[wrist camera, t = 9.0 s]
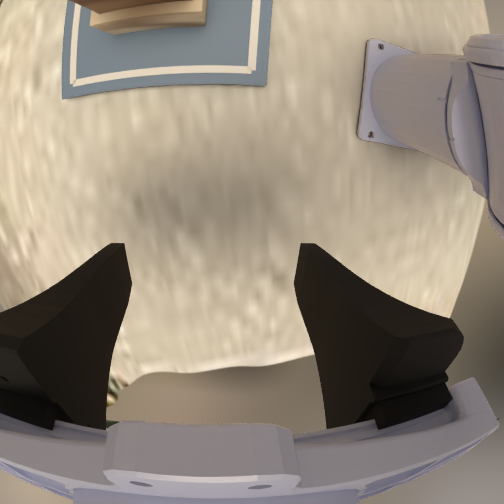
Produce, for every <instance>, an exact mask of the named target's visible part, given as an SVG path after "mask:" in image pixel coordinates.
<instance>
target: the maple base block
mask: <svg viewBox="0 0 504 504" xmlns="http://www.w3.org/2000/svg"><path fill="white" fill-rule="evenodd" d="M207 7H208V0H190V1H176V2H166V3H157V4H149V5H143V6H136V7H131V8H125V9H120V10H115V11H111V12H106V13H102V14H98V13H96V12H94V11H92V10H91V18H90V26H91V27H94V28H97V29H99V30H102V31H105V32H107V33H110V34H113V35H118V34H124V33H130V32H137V31H145V30H153V29H164V28H177V27H200V26H206V19H207Z"/></svg>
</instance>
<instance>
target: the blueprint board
mask: <svg viewBox="0 0 504 504" xmlns="http://www.w3.org/2000/svg"><path fill="white" fill-rule="evenodd" d="M272 1H273V0H208V7H207V19H206V26H200V27H177V28H164V29H153V30H145V31H137V32H130V33H124V34H118V35H113V34H110V33H107V32H105V31H102V30H99V29H97V28H94V27H91V26H90V18H91V10H90V9H88V8H85V7H83V6H81V5H79V4H76V3H74V2H72V1H69V0H68V2H67V9H66V17H65V26H64V37H63V53H62V99H68V98H73V97H78V96H83V95H88V94H94V93H100V92H107V91H114V90H121V89H130V88H139V87H150V86H163V85H183V84H237V85H257V86H266V84H267V70H268V56H269V43H270V29H271V15H272Z"/></svg>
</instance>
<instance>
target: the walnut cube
mask: <svg viewBox="0 0 504 504" xmlns="http://www.w3.org/2000/svg"><path fill="white" fill-rule="evenodd" d="M69 1H72V2H74V3H76V4H79V5H81V6H83V7H85V8H88V9H90V10H92V11H94V12H96V13H98V14H102V13H106V12H111V11H115V10H120V9H125V8H131V7H136V6H143V5H149V4H157V3H166V2H176V1H190V0H69Z"/></svg>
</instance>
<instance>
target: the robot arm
mask: <svg viewBox="0 0 504 504" xmlns="http://www.w3.org/2000/svg"><path fill="white" fill-rule="evenodd" d="M378 44H380V45H381V47H382V49H381V50H380V49H379V48H378ZM463 52H464V55H451V54H417V53H414V52H412V51H409V50H406V49H404V48H401V47H398V46H395V45H393V44H390V43H387V42H384V41H380V40H377V39H370V40H368V41H367V49H366V62H365V73H364V83H363V92H362V101H361V109H360V116H359V124H358V131H357V135H358V137H359V138H360V139H362V140H366V141H372V142H378V143H383V144H388V145H393V146H398V147H403V148H408V149H412V150H417V151H421V152H423V153H425V154H427V155H429V156H431V157H433V158H435V159H437V160H439V161H441V162H443V163H445V164H447V165H449V166H451V167H453V168H454V169H456V170H458V171H460V172H462V173H463V174H465V175H467V176H468V177H469V178H470V180H471V182H472V186H473V191H475V192H476V193H478V194H479V195H481V196H482V197H484V198H485V199H487V213H488V218H489V221H490V223H491V225H492V227H493V228H494V230H495V231H496V232H497V233H498V234H499V236H501V237H502V238H503V239H504V34H481V35H474V36H471V37H470V38H469V40H468V42H467V44H466V45H464V46H463ZM369 132H372V135H371V137H368V133H369ZM131 287H132V280H131V276H130V271H129V266H128V261H127V256H126V250H125V245H124V243H110V244H109V245H107V246H106V247H104V248H103V249H102V250H100V251H99V252H98V253H96V254H95V255H94V256H93V257H91V258H90V259H89V260H87V261H86V262H85V263H84V264H82V265H81V266H80V267H79V268H77V269H76V270H74V271H73V272H72V273H70V274H69V275H68V276H66V277H65V278H64V279H62V280H61V281H60V282H58V283H57V284H55V285H54V286H52V287H50V288H49V289H47V290H46V291H44V292H42V293H41V294H39V295H37V296H35V297H33V298H31V299H29V300H27V301H26V302H24V303H22V304H19V305H17V306H15V307H13V308H10V309H8V310H6V311H3V312H1V313H0V469H2V470H3V471H5V472H7V473H9V474H11V475H13V476H16V477H18V478H20V479H22V480H24V481H26V482H28V483H30V484H33V485H35V486H37V487H40V488H43V489H45V490H47V491H50V492H52V493H55V494H57V495H60V496H63V497H66V498H69V499H72V500H74V501H73V504H360V503H359V500H362V499H365V498H368V497H371V496H374V495H377V494H380V493H382V492H385V491H388V490H390V489H393V488H395V487H398V486H400V485H402V484H405V483H407V482H409V481H412V480H414V479H416V478H418V477H420V476H423V475H425V474H427V473H429V472H431V471H433V470H435V469H437V468H439V467H441V466H443V465H445V464H447V463H449V462H450V461H452V460H454V459H456V458H458V457H460V456H461V455H463V454H464V453H466V452H467V451H468V450H470V449H471V448H472V447H474V446H475V445H477V444H478V443H479V442H481V441H482V440H483V439H485V438H486V437H487V436H488V435H490V434H491V433H492V432H493V431H494V430H495V429H497V428H498V427H499V423H498V421H497V419H496V417H495V415H494V413H493V411H492V409H491V407H490V405H489V403H488V402H487V400H486V398H485V396H484V394H483V392H482V391H481V389H480V387H479V385H478V383H477V382H476V380H475V378H473V377H472V378H469V379H467V380H464V381H462V382H460V383H457V384H455V385H453V386H452V387H451V388H449V389H448V388H447V386H446V384H445V382H447V381H448V376H447V374H446V373H445V370H446V369H447V368H448V367H449V365H450V364H451V363H452V361H453V360H454V359H455V357H456V356H457V355H458V352H459V351H460V350H461V347H462V344H463V341H464V336H463V335H462V333H461V331H460V330H459V328H458V327H457V326H456V324H455V323H454V322H453V320H452V319H450V318H446V317H443V316H439V315H436V314H432V313H429V312H426V311H424V310H421V309H418V308H416V307H413V306H411V305H408V304H406V303H404V302H402V301H400V300H398V299H396V298H394V297H391V296H390V295H388V294H386V293H384V292H382V291H381V290H379V289H377V288H375V287H374V286H372V285H370V284H369V283H367V282H366V281H364V280H363V279H361V278H360V277H359V276H357V275H356V274H354V273H353V272H352V271H350V270H349V269H348V268H346V267H345V266H344V265H342V264H341V263H340V262H339V261H337V260H336V259H335V258H333V257H332V256H331V255H330V254H328V253H327V252H326V251H325V250H323V249H322V248H321V247H319V246H318V245H316V244H315V243H301V245H300V251H299V257H298V263H297V268H296V274H295V280H294V287H295V292H296V297H297V302H298V305H299V308H300V311H301V314H302V317H303V320H304V323H305V326H306V328H307V331H308V334H309V337H310V340H311V343H312V346H313V349H314V353H315V357H316V361H317V367H318V371H319V376H320V382H321V388H322V394H323V401H324V409H325V417H326V427H327V429H325V430H320V431H313V432H307V433H300V434H292V432H291V430H289V429H287V428H284V427H281V426H278V425H275V424H268V423H267V424H266V423H237V424H185V423H164V422H151V421H121V422H119V423H117V424H115V425H112V426H110V427H109V428H108V431H106V404H107V390H108V381H109V372H110V366H111V360H112V354H113V350H114V346H115V343H116V339H117V336H118V333H119V330H120V327H121V324H122V321H123V318H124V315H125V312H126V309H127V306H128V302H129V297H130V292H131Z"/></svg>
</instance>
